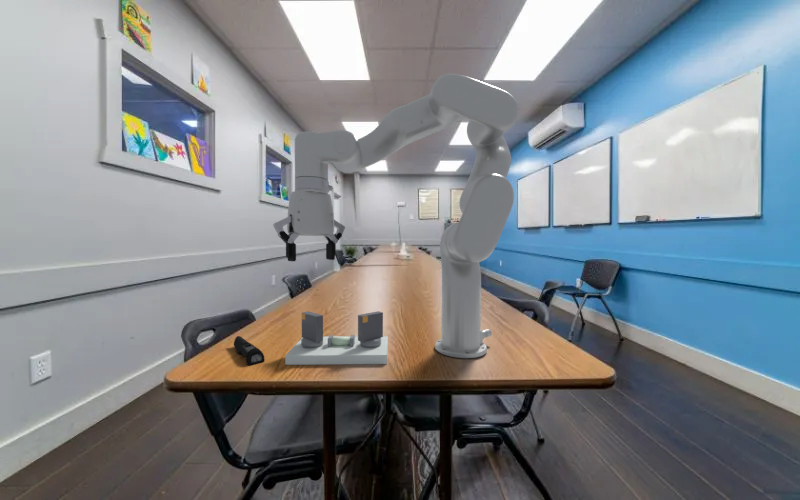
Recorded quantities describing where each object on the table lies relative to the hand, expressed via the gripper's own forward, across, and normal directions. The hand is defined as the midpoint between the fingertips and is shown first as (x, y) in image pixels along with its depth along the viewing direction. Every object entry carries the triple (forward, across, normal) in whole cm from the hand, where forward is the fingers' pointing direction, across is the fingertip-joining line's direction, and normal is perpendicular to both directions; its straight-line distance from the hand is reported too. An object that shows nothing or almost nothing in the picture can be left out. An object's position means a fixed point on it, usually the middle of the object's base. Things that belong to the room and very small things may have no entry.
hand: (311, 260), depth 70 cm
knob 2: (+20, -11, +9) cm, 24 cm away
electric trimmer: (+23, +12, -10) cm, 27 cm away
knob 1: (+20, 0, 0) cm, 20 cm away
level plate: (+22, -5, +4) cm, 23 cm away
